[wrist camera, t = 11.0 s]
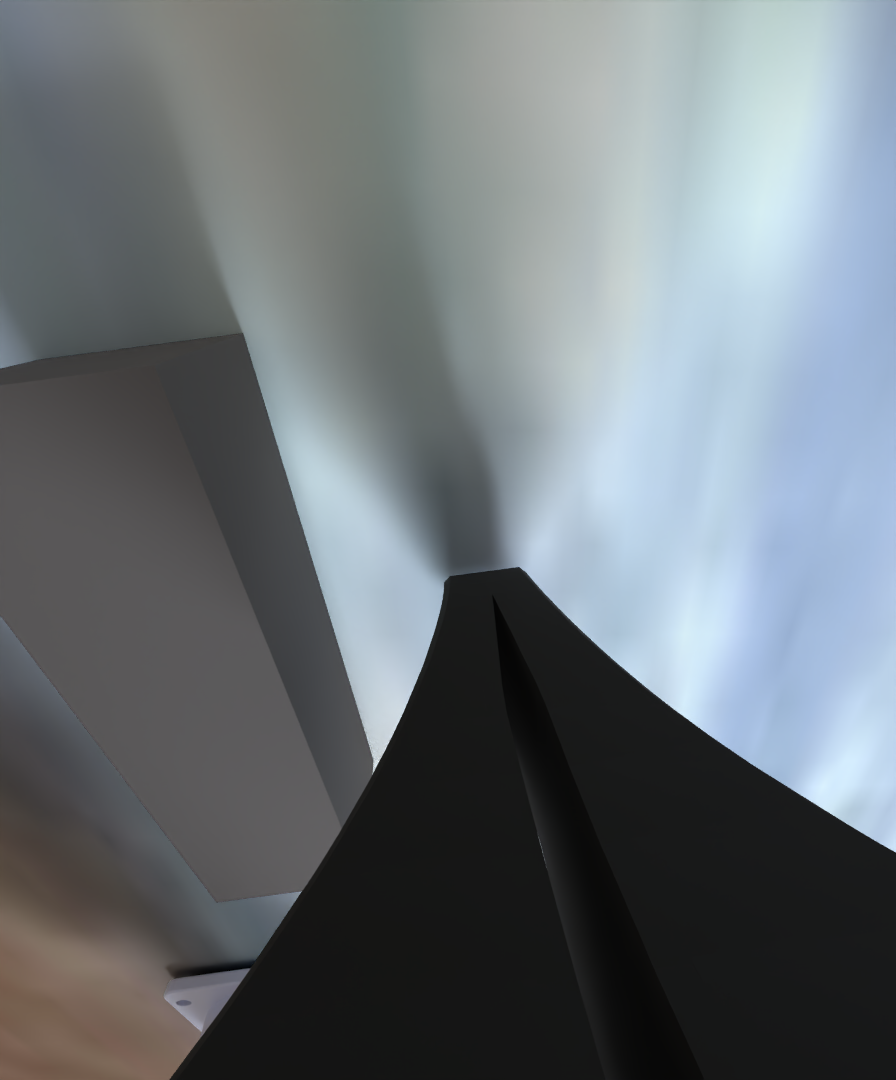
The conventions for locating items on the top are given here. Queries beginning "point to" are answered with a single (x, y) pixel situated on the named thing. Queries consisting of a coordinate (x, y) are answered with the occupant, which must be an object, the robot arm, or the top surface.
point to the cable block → (180, 602)
